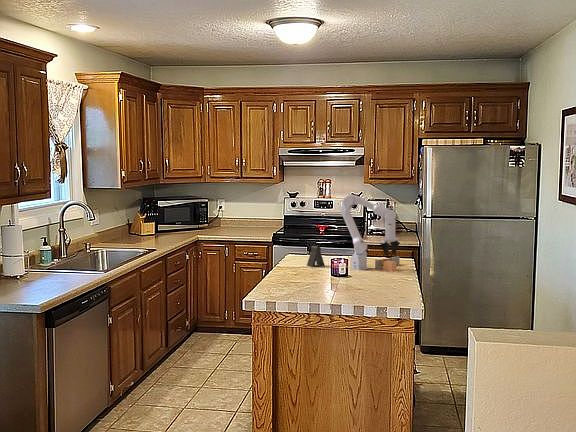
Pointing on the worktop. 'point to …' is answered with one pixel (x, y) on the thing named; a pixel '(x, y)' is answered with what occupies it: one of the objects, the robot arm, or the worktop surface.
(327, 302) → the worktop surface
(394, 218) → the robot arm
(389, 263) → the terracotta rectangular block
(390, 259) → the gate door
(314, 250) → the phone stand
